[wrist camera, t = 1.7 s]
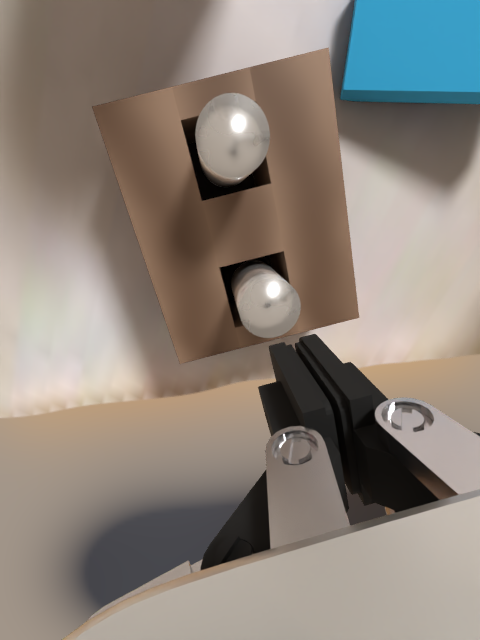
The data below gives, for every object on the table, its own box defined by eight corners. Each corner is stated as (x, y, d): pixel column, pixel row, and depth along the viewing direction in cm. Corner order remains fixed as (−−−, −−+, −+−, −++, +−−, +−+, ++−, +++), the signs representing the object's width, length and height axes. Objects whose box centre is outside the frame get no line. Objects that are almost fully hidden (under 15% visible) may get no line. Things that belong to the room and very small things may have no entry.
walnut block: (296, 91, 25) (328, 47, 18) (326, 294, 30) (359, 317, 24) (123, 134, 25) (91, 106, 18) (186, 330, 30) (180, 363, 24)
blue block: (333, 118, 30) (547, 124, 27) (343, 89, 23) (626, 94, 21) (347, 28, 28) (581, 25, 25) (361, -32, 21) (680, -44, 18)
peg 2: (271, 255, 24) (294, 271, 18) (280, 298, 25) (305, 329, 19) (226, 266, 24) (232, 287, 18) (237, 310, 25) (247, 344, 19)
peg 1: (245, 123, 21) (261, 84, 15) (256, 180, 22) (276, 168, 16) (193, 136, 21) (186, 103, 15) (207, 193, 22) (206, 185, 16)
